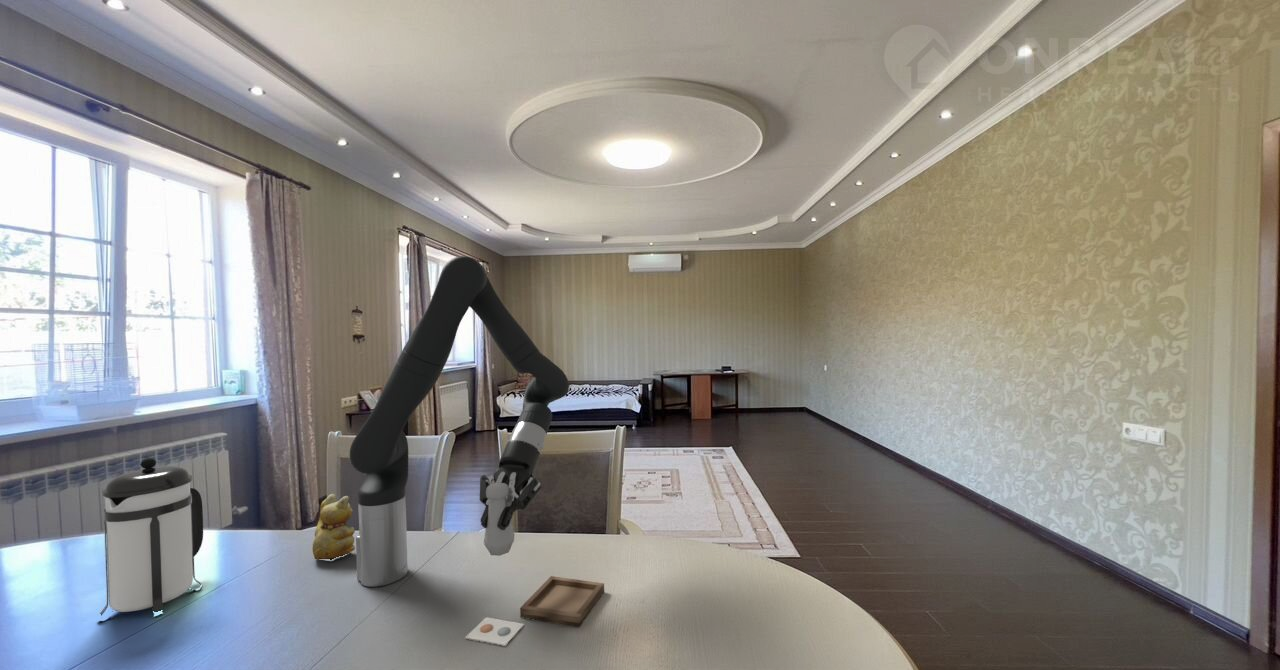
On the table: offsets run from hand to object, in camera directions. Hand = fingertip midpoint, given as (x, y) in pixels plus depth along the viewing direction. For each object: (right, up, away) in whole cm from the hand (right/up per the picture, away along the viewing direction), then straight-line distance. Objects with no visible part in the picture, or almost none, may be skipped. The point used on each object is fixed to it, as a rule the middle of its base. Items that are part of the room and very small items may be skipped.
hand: (492, 527), depth 91 cm
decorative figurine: (-46, -18, +24) cm, 55 cm away
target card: (+2, -16, -7) cm, 17 cm away
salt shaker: (+1, -6, +2) cm, 6 cm away
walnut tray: (+13, -16, +1) cm, 21 cm away
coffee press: (-72, -18, +7) cm, 74 cm away
